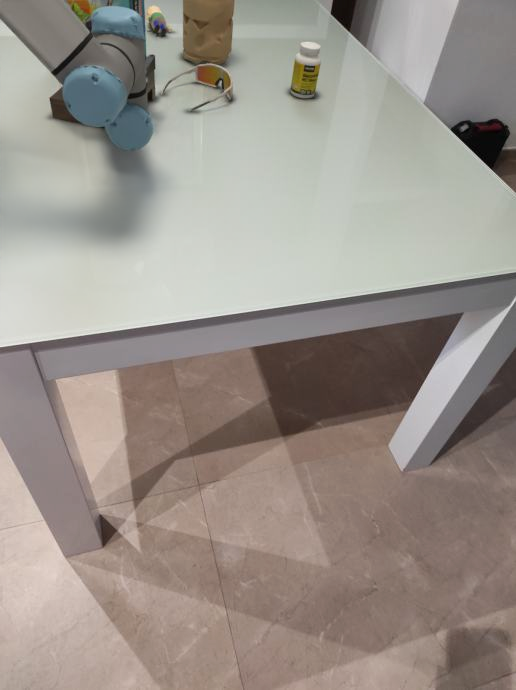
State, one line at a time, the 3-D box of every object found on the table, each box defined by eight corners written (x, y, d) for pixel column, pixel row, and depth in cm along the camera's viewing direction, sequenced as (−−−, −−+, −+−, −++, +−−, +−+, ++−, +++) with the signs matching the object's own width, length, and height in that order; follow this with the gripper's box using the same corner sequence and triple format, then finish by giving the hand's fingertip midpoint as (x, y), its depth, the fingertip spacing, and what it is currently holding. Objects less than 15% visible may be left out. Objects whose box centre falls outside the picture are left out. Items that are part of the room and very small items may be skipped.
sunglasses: (244, 99, 121) (244, 77, 117) (196, 123, 114) (194, 102, 110) (204, 77, 126) (202, 56, 122) (156, 100, 120) (153, 78, 116)
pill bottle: (299, 100, 124) (307, 51, 116) (285, 90, 127) (292, 41, 119) (319, 97, 126) (328, 48, 118) (305, 87, 130) (313, 39, 121)
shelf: (52, 117, 105) (46, 85, 100) (87, 84, 117) (83, 53, 112) (128, 132, 105) (125, 100, 100) (155, 97, 117) (154, 67, 112)
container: (175, 61, 132) (174, -22, 118) (192, 46, 140) (193, -34, 127) (222, 72, 130) (226, -12, 117) (236, 56, 139) (242, -24, 125)
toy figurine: (170, 44, 145) (162, 26, 151) (177, 28, 142) (168, 11, 149) (143, 30, 140) (136, 12, 147) (150, 14, 137) (142, -4, 144)
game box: (63, 60, 125) (39, -83, 105) (79, 52, 129) (60, -86, 109) (133, 83, 120) (123, -61, 100) (149, 74, 124) (142, -66, 104)
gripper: (47, 116, 91) (38, 68, 104) (183, 110, 99) (159, 66, 112) (38, 72, 86) (29, 27, 99) (183, 69, 93) (157, 27, 106)
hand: (98, 47), depth 105 cm, fingers open, 13 cm apart
